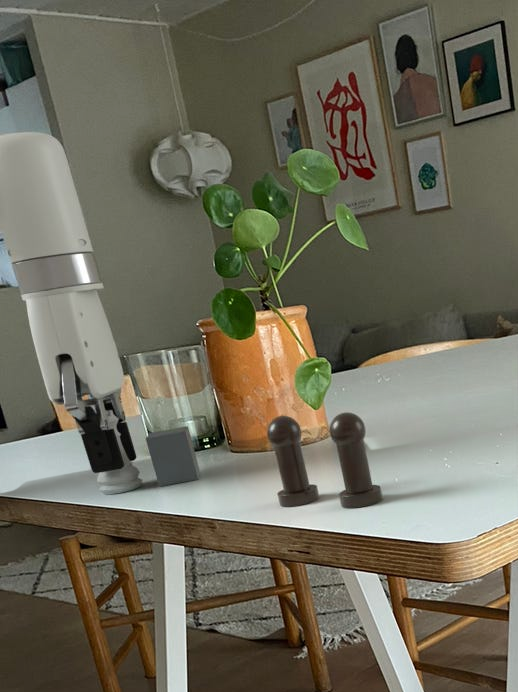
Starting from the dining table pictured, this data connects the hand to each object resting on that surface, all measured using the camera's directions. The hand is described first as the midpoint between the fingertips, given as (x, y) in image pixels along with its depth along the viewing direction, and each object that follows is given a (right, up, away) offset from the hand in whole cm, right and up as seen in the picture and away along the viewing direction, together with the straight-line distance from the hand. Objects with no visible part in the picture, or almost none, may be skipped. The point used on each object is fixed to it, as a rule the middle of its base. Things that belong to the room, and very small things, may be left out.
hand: (115, 464), depth 96 cm
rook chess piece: (0, -3, +1) cm, 3 cm away
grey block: (+6, -1, +1) cm, 7 cm away
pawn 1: (+23, -6, -17) cm, 29 cm away
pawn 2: (+28, -7, -21) cm, 36 cm away
